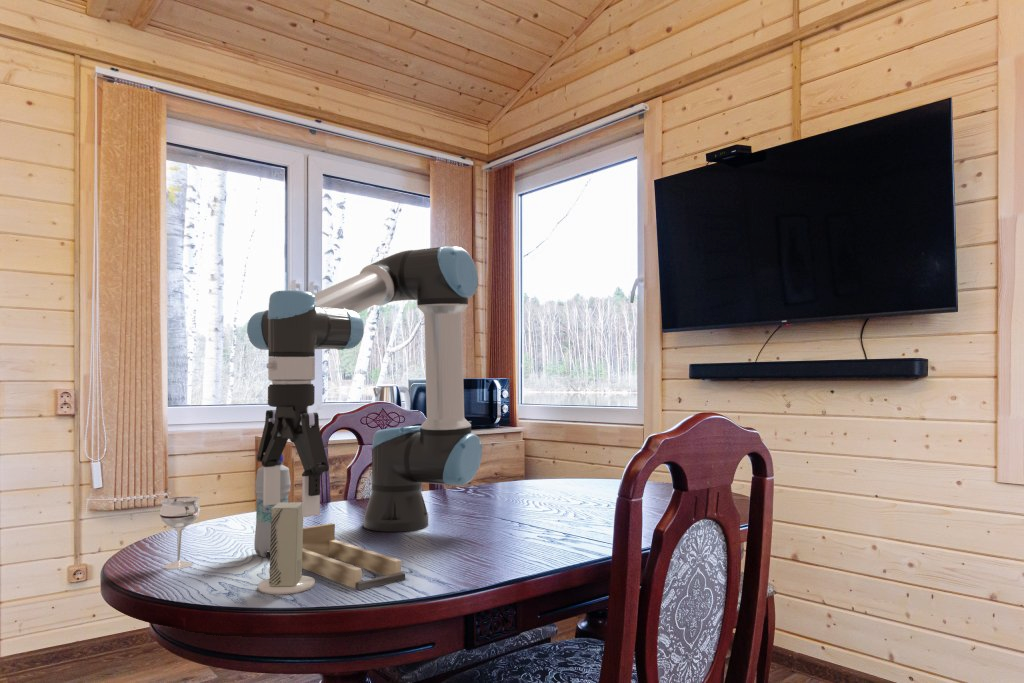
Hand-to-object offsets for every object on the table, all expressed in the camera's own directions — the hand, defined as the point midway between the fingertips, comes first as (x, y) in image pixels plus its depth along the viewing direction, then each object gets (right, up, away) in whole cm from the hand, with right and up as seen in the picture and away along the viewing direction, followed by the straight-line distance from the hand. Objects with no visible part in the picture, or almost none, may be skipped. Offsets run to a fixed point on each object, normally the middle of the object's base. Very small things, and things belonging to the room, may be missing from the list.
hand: (290, 510), depth 117 cm
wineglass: (-24, -13, +12) cm, 30 cm away
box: (0, -12, -1) cm, 12 cm away
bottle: (-10, -14, +20) cm, 26 cm away
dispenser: (+7, -13, +9) cm, 17 cm away
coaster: (0, -12, -1) cm, 12 cm away
